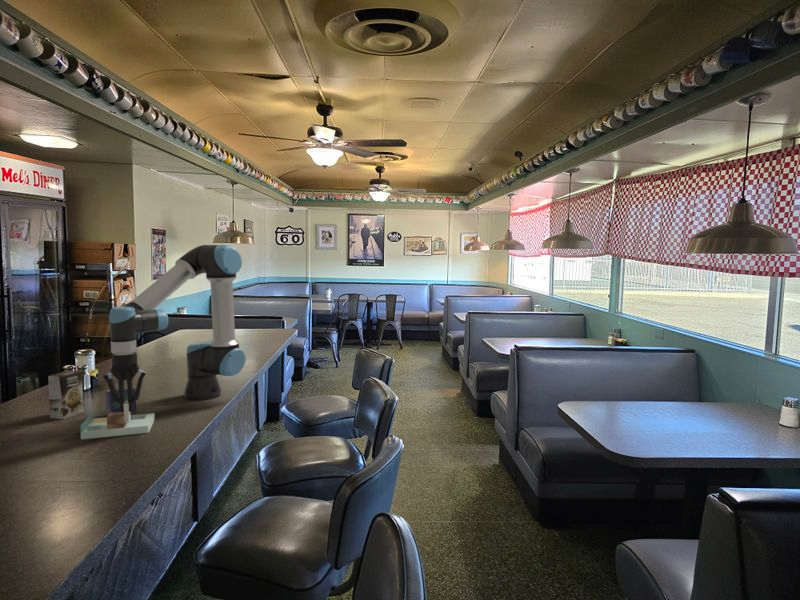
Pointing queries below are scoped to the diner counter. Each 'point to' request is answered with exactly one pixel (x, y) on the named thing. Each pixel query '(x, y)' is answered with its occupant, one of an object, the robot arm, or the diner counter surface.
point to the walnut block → (116, 420)
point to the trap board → (99, 428)
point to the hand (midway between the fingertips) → (127, 420)
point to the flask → (115, 406)
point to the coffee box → (65, 394)
